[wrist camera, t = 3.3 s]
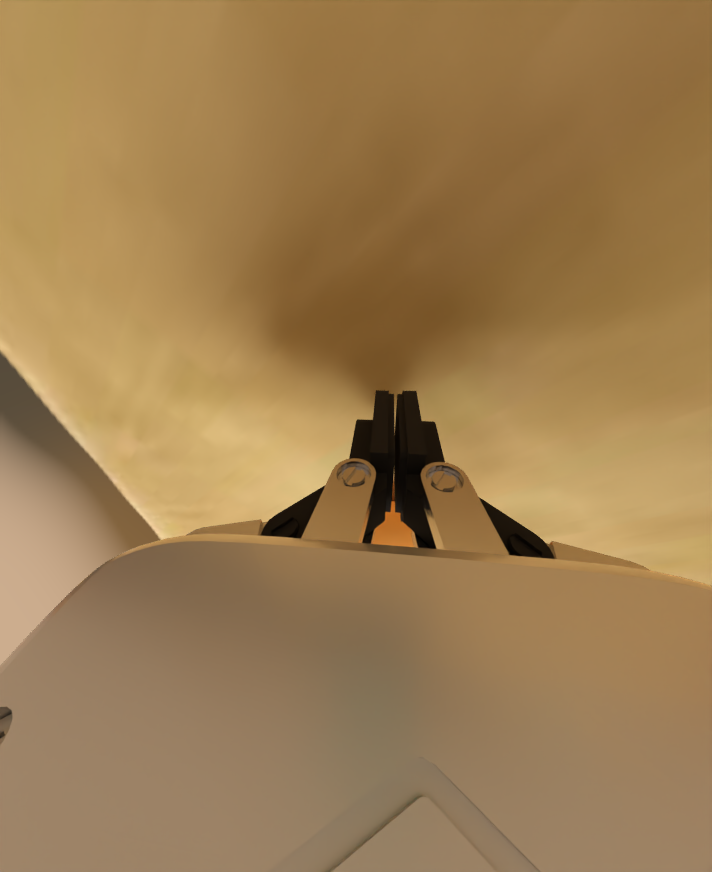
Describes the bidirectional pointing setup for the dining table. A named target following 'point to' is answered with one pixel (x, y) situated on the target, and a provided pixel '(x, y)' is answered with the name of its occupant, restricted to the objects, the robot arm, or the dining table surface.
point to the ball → (393, 530)
